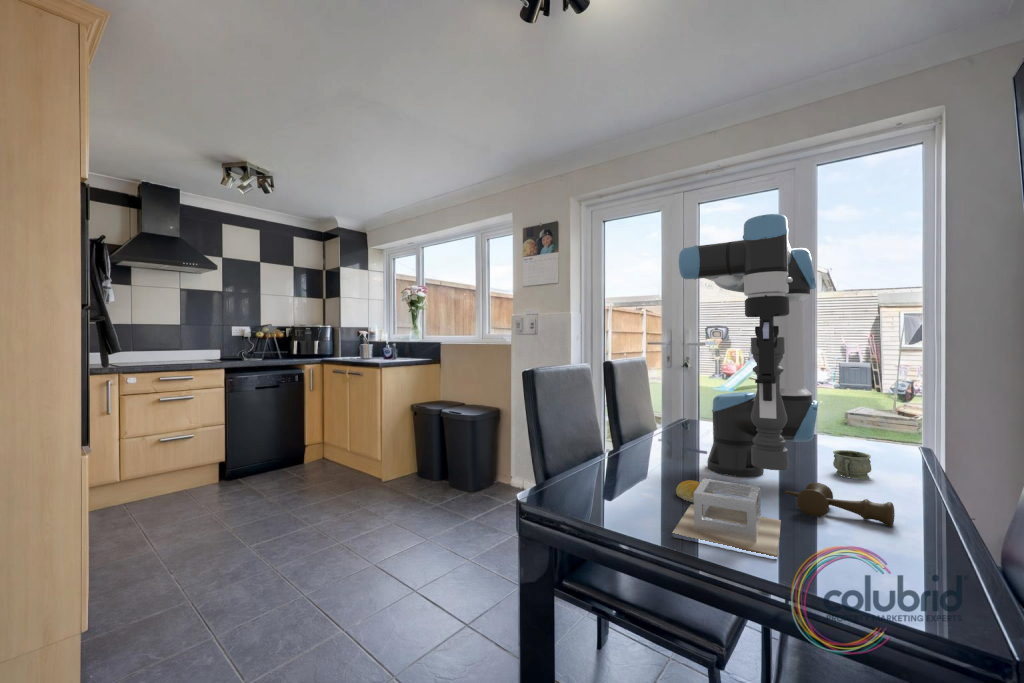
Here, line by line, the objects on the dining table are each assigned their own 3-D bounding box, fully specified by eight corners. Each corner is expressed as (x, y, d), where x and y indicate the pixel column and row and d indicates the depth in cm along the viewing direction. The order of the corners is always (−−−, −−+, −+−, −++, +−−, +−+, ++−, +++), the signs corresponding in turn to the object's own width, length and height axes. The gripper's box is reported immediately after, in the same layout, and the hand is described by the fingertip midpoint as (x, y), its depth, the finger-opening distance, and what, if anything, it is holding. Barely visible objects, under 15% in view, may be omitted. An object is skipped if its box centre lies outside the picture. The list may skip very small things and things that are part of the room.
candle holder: (752, 468, 85) (749, 337, 85) (750, 459, 90) (748, 337, 90) (790, 471, 82) (787, 337, 82) (786, 463, 88) (784, 336, 87)
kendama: (893, 536, 89) (778, 509, 102) (895, 523, 96) (788, 499, 109) (893, 506, 89) (779, 483, 102) (895, 495, 96) (788, 475, 109)
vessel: (839, 468, 134) (839, 447, 134) (877, 474, 127) (876, 452, 127) (827, 476, 126) (826, 454, 126) (865, 483, 120) (865, 460, 120)
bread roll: (699, 491, 116) (699, 475, 116) (719, 503, 107) (719, 486, 107) (669, 492, 115) (669, 477, 115) (687, 504, 106) (686, 488, 106)
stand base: (690, 508, 103) (690, 504, 103) (780, 524, 94) (780, 520, 94) (672, 537, 88) (672, 532, 88) (777, 560, 78) (777, 555, 78)
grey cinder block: (704, 512, 98) (703, 478, 99) (760, 522, 92) (760, 486, 93) (694, 530, 89) (693, 492, 89) (756, 542, 83) (755, 502, 83)
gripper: (789, 290, 76) (791, 425, 76) (788, 298, 92) (790, 409, 92) (740, 294, 80) (742, 421, 80) (748, 300, 96) (750, 407, 96)
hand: (768, 415), depth 86 cm, fingers closed on candle holder, 6 cm apart
